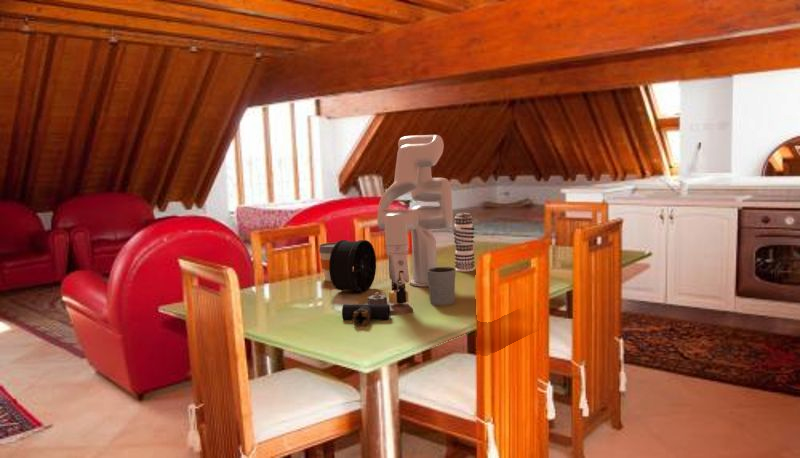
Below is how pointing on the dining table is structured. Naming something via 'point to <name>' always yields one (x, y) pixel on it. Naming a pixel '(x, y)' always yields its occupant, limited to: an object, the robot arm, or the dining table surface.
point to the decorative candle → (464, 242)
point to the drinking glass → (441, 285)
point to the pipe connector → (365, 313)
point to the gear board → (394, 308)
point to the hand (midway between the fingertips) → (399, 299)
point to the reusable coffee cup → (326, 258)
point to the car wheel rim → (352, 265)
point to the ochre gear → (395, 297)
